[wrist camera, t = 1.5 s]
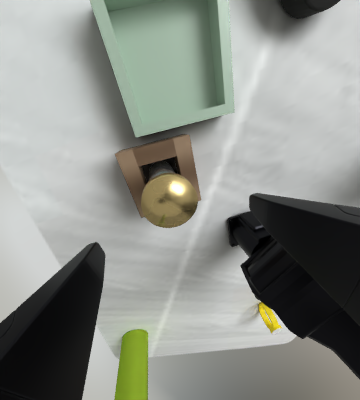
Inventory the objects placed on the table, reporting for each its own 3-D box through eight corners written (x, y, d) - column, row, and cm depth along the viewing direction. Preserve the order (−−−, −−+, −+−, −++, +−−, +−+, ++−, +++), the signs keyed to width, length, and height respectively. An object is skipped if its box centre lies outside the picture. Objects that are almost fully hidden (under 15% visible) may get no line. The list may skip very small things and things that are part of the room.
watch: (264, 308, 42) (280, 334, 37) (255, 311, 42) (270, 338, 37) (266, 297, 39) (284, 324, 34) (256, 301, 39) (273, 328, 34)
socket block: (193, 190, 22) (201, 200, 19) (142, 205, 22) (141, 217, 19) (182, 134, 19) (189, 134, 16) (120, 150, 18) (115, 154, 15)
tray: (222, 115, 19) (234, 112, 16) (137, 136, 18) (135, 137, 15) (211, -17, 14) (226, -52, 11) (94, 5, 13) (80, -27, 10)
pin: (179, 182, 22) (201, 218, 13) (150, 191, 21) (151, 234, 12) (172, 152, 20) (192, 169, 11) (139, 160, 19) (132, 185, 10)
